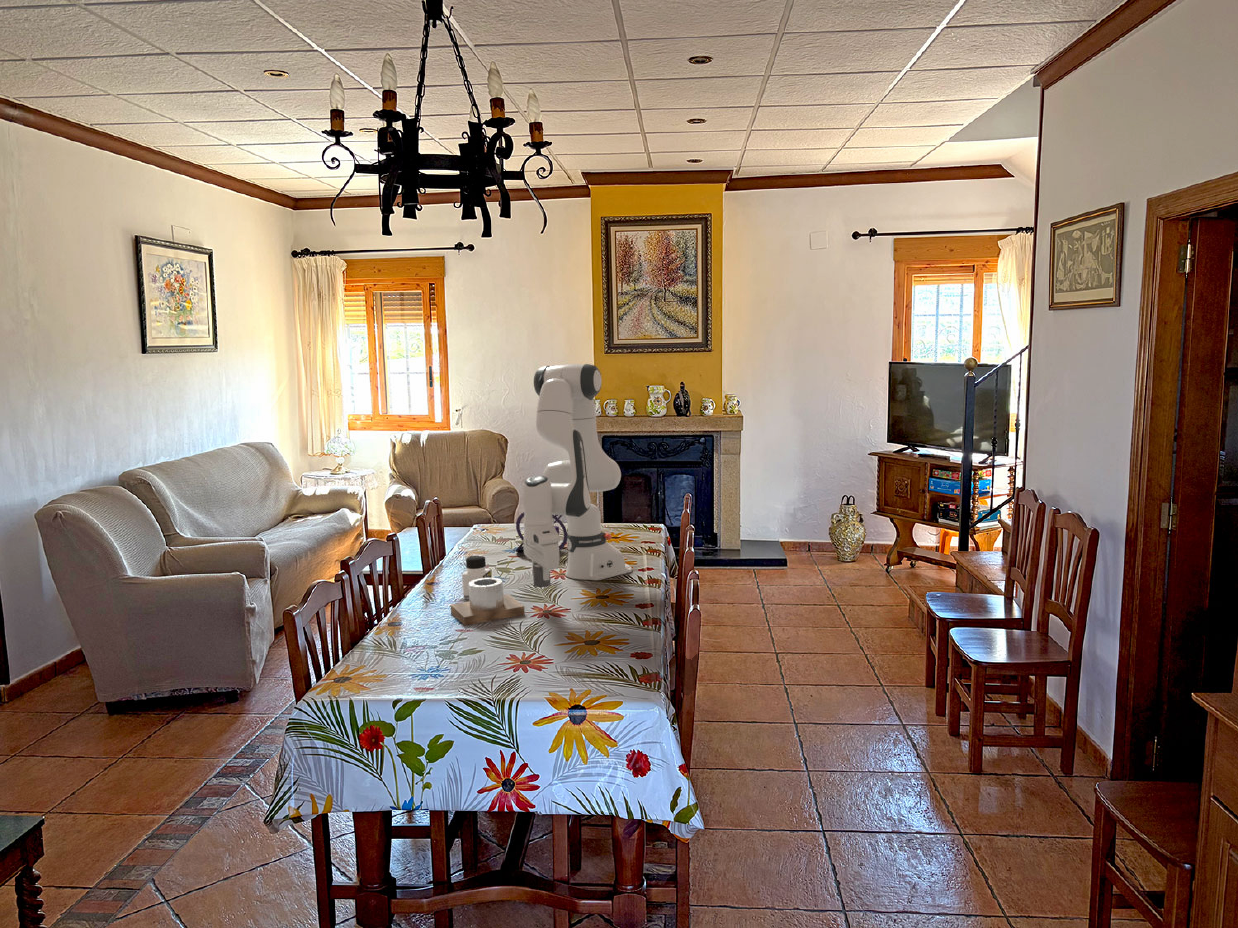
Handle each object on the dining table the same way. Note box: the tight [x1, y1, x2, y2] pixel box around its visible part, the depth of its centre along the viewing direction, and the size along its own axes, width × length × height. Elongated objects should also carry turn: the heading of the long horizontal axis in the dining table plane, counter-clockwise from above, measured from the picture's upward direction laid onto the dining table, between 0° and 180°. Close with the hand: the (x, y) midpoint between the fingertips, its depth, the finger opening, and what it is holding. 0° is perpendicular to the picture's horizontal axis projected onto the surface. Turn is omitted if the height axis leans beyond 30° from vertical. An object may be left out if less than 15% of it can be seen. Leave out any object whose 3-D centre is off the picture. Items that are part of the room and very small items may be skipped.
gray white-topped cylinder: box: [532, 564, 552, 588], centre depth 262 cm, size 5×5×6 cm
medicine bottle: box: [461, 554, 492, 597], centre depth 280 cm, size 7×7×12 cm
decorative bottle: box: [515, 511, 568, 553], centre depth 331 cm, size 22×21×25 cm
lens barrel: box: [468, 577, 504, 611], centre depth 259 cm, size 10×10×7 cm
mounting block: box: [450, 594, 526, 627], centre depth 259 cm, size 18×14×2 cm
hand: (541, 576), depth 262 cm, fingers closed on gray white-topped cylinder, 5 cm apart
